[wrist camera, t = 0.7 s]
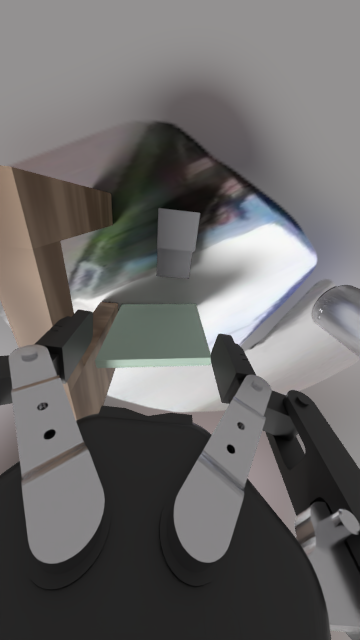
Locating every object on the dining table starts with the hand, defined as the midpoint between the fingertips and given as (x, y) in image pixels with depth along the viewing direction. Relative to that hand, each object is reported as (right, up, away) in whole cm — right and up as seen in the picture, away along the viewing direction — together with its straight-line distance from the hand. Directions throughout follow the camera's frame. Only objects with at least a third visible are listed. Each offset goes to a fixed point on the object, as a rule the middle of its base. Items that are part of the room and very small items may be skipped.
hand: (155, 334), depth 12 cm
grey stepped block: (+1, +13, +19) cm, 23 cm away
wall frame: (-11, +7, +22) cm, 25 cm away
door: (-2, +3, +24) cm, 24 cm away
